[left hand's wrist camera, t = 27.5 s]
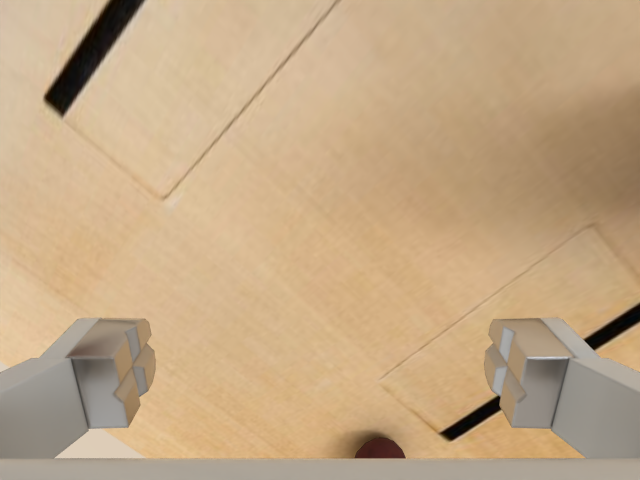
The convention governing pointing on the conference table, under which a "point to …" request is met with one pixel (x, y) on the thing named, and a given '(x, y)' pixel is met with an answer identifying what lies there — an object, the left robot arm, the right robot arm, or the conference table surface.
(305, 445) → the conference table surface
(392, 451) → the potato
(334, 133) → the conference table surface
